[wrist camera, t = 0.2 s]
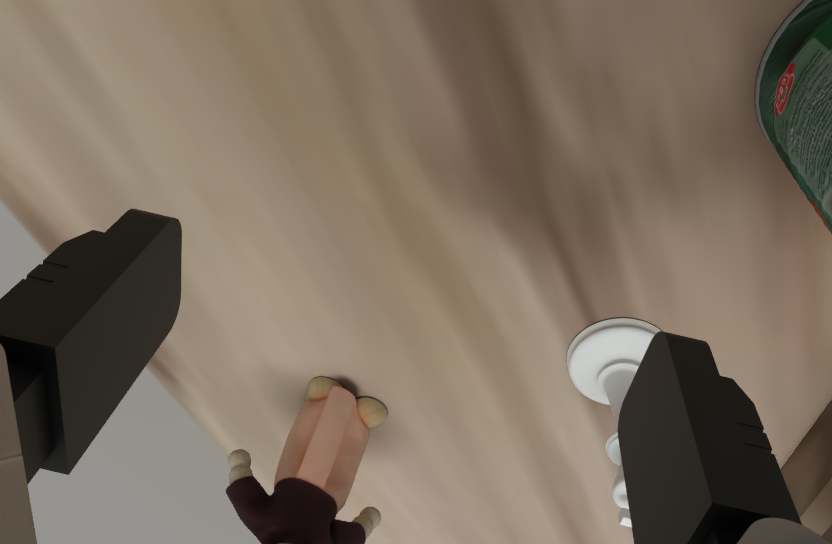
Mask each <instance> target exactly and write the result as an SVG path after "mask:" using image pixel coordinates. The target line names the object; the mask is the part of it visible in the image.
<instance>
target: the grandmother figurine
mask: <svg viewBox="0 0 832 544" xmlns="http://www.w3.org/2000/svg"><path fill="white" fill-rule="evenodd" d="M386 418H387V409H386V408H385V406H384V405H383V404H381V403H380V402H379V401H377V400H375V399H373V398H368V397H363V398H359V399H357V400H356V398H355V396H354V395H353V394H351V393H350V392H349V391H348V390H346V389H344V388H343V387H342V385H340V384H339V383H338V382H336V381H334V380H332V379H329V378H326V377H317V378H314V379H313V380H311V381H310V383H309V385H308V389H307V393H306V397H305V403H304V404H303V406H302V408H301V410H300V412H299V414H298V416H297V418H296V420H295V422H294V424H293V426H292V428H291V430H290V433H289V435H288V437H287V440H286V443H285V446H284V449H283V452H282V455H281V457H280V461H279V464H278V467H277V472H276V476H275V483H274V492H273V494H272V495H271V496H269V495H268V494H267V493H266V492H265V490H264V489H263V487H262V486H261V485H260V483H259V482H258V481H257V480H256V479H255V478H254V477H253V474H252V470H251V469H250V465H251V458H250V455H249V453H248V452H247V451H245V450H242V449H238V450H235V451H233V452H232V453H231V454H230V456H229V458H228V463H229V467H230V469H231V471H230V474H229V478H230V479H229V480H230V486H228V488H227V489H226V493H227V495H228V497H229V499H230V501H231V502H232V504H233V506H234V508H235V510H236V512H237V514H238V516H239V517H240V519H241V520H242V522H243V523H244V524H245V525H246V527H247V528H248V529H250V531H251V532H252V533H253V534H254V535H255V536H256V537H257V538H258V540H259V541H260V542H261V543H262V544H364V543H365V540H366V538H367V537H368V536H369V535H370V534H371V532H372V530H373V528H375V527H377V526H378V525H379V523H380V520H381V515H380V512H379V511H378V510H377V509H376V508H374V507H366V508H365V509H363V510H362V511H361V513H360V515H359V516H358V517H356V518H355V519H354V520H353V521H352V522H346V521H341V520H336V519H335V517H336V514H337V513H338V512H339V511H340V509H341V508H342V507H343V506H344V504H345V502H346V500H347V498H348V495H349V493H350V490H351V487H352V485H353V482H354V479H355V476H356V473H357V470H358V467H359V464H360V462H361V459H362V456H363V454H364V451H365V448H366V444H367V441H368V438H369V434H370V432H369V430H370V429H373V428H375V427H377V426H379V425H381V424H382V423H383V422H384V421H385V420H386Z"/></svg>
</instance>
